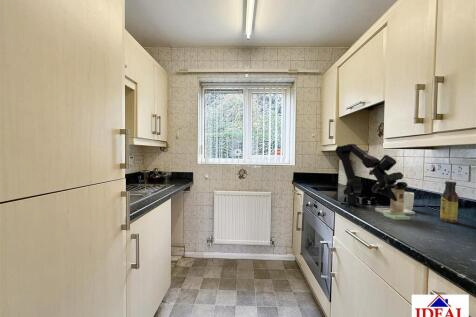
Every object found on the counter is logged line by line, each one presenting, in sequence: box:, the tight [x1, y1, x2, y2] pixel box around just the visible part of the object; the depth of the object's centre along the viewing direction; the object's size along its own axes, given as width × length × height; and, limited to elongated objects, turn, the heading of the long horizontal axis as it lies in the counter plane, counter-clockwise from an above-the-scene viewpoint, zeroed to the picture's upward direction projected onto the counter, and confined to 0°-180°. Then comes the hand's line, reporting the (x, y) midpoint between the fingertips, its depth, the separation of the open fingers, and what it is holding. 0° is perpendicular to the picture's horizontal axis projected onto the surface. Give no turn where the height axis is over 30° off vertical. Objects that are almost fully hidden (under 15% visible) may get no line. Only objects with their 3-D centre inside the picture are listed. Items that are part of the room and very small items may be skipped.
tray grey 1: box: [374, 207, 391, 215], centre depth 131 cm, size 8×8×2 cm
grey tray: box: [403, 209, 416, 216], centre depth 132 cm, size 8×8×2 cm
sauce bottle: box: [439, 180, 459, 224], centre depth 116 cm, size 6×6×20 cm
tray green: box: [383, 213, 411, 221], centre depth 121 cm, size 8×8×2 cm
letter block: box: [389, 189, 405, 214], centre depth 121 cm, size 4×4×12 cm
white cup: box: [404, 191, 415, 211], centre depth 140 cm, size 8×8×10 cm
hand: (399, 200), depth 119 cm, fingers closed on letter block, 4 cm apart
